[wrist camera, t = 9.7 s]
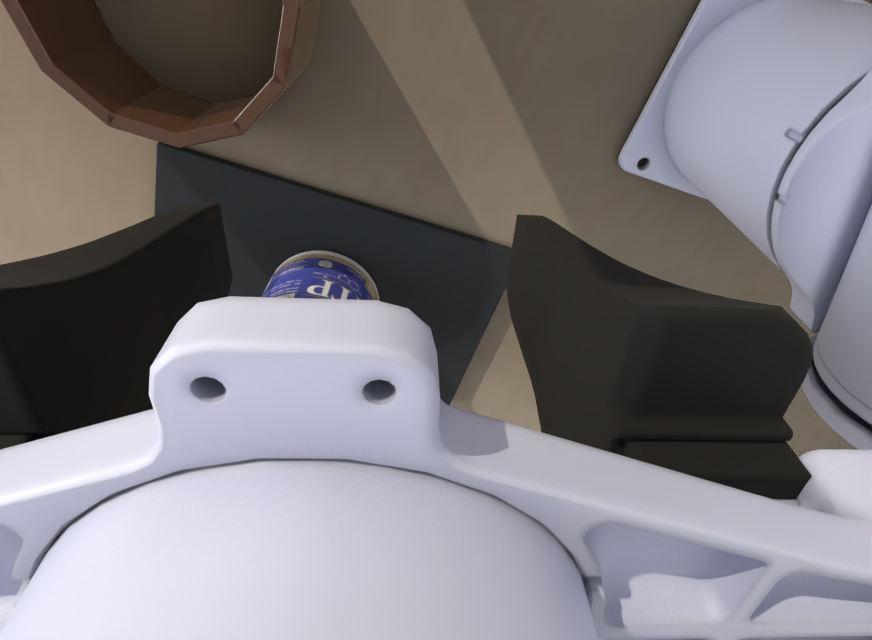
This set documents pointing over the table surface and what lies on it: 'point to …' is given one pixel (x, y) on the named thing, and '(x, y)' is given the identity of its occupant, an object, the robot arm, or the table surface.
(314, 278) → the pill bottle
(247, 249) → the mat
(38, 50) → the brown bowl
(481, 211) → the table surface
